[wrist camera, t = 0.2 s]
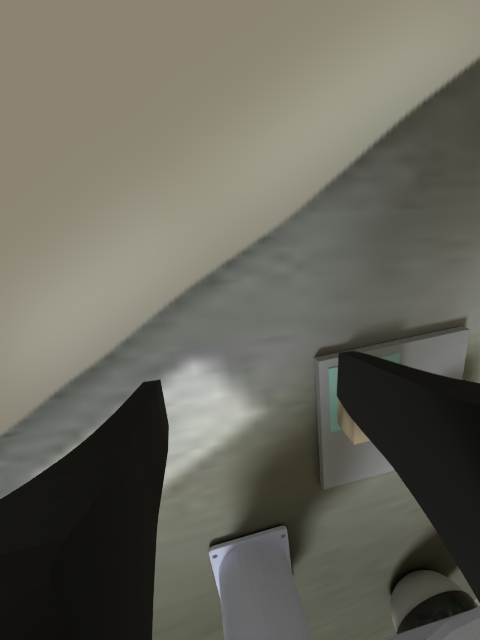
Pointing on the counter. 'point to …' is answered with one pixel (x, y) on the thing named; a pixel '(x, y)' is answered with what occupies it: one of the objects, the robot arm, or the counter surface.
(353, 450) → the board
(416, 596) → the egg-shaped speaker
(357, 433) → the base block
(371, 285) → the counter surface
